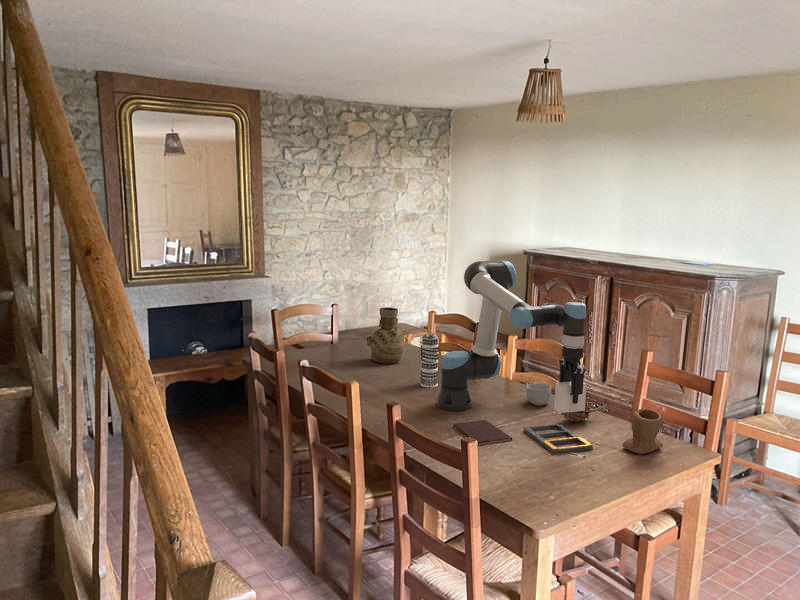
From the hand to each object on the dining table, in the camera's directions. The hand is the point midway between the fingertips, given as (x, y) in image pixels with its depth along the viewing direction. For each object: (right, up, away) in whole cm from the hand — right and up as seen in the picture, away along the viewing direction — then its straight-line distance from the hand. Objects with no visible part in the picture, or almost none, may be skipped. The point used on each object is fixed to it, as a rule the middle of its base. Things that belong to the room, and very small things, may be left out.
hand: (569, 409), depth 221 cm
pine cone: (+14, -10, +30) cm, 35 cm away
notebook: (-30, -13, +15) cm, 36 cm away
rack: (-2, -13, +9) cm, 16 cm away
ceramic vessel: (-68, +5, +117) cm, 135 cm away
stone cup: (+28, -15, +2) cm, 32 cm away
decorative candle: (-47, -2, +76) cm, 89 cm away
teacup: (0, -6, +52) cm, 53 cm away
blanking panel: (0, 0, 0) cm, 0 cm away
